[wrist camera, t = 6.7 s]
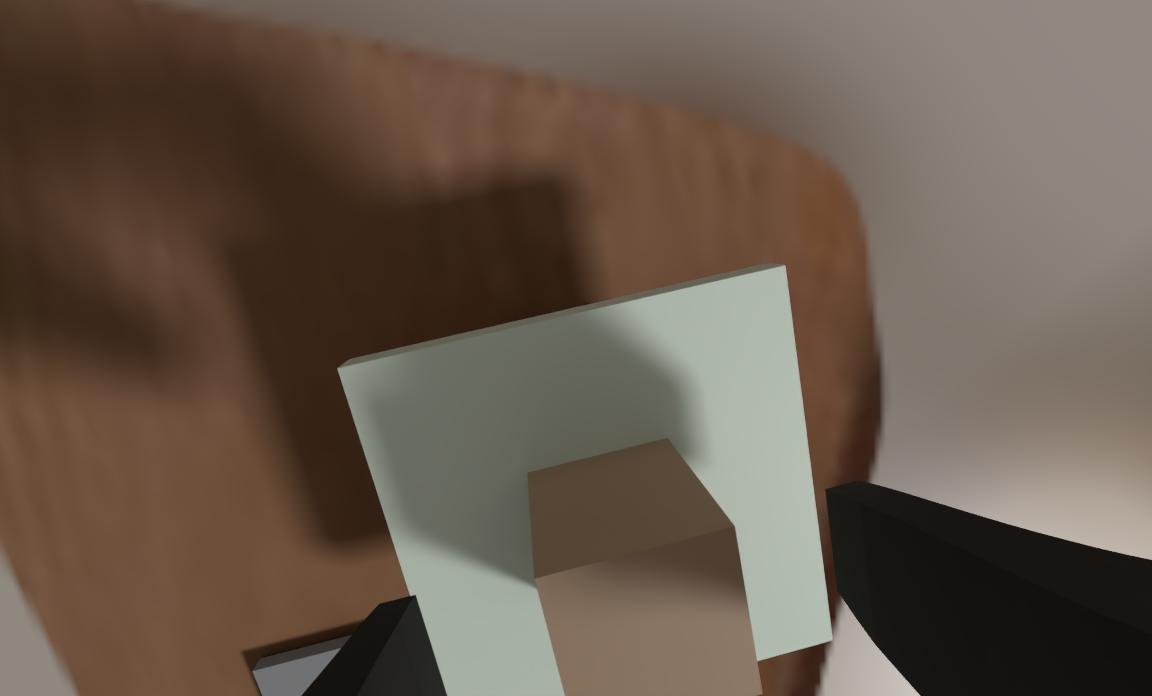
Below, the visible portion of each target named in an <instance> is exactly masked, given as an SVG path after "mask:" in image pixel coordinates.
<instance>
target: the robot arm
mask: <svg viewBox="0 0 1152 696" xmlns="http://www.w3.org/2000/svg"><path fill="white" fill-rule="evenodd" d="M825 490H826V499H827V507H828V515H829V524H830V532H831V541H832V549H833V557H834V566H835V574H836V583H837V591H838V592H839V594H840V595H841V597H842V598H843V599H844V601H845V602H846V604H847V605H848V607H849V608H850V610H851V611H852V612H853V614H854V616H855V617H856V619H857V620H858V621H859V623H860V624H861V625H862V627H863V628H864V630H865V631H866V632H867V634H868V635H869V636H870V638H871V639H872V641H873V642H874V643H875V645H876V646H877V647H878V648H879V649H880V650H881V651H882V653H883V654H884V655H885V656H886V657H887V658H888V660H889V661H890V662H891V663H892V664H893V665H894V666H895V667H896V668H897V670H898V671H899V672H900V673H901V674H902V675H903V676H904V678H905V679H906V680H907V681H908V682H909V683H910V684H911V686H912V687H913V688H914V689H915V690H916V691H917V692H918V693H919V694H920V695H921V696H1152V560H1149V559H1144V558H1139V557H1135V556H1130V555H1125V554H1121V553H1117V552H1112V551H1108V550H1103V549H1099V548H1095V547H1091V546H1087V545H1083V544H1080V543H1076V542H1071V541H1068V540H1064V539H1060V538H1057V537H1053V536H1049V535H1045V534H1041V533H1037V532H1034V531H1030V530H1027V529H1023V528H1020V527H1016V526H1012V525H1008V524H1005V523H1002V522H998V521H995V520H992V519H988V518H985V517H982V516H978V515H975V514H972V513H968V512H965V511H962V510H958V509H955V508H952V507H949V506H946V505H942V504H939V503H936V502H932V501H929V500H926V499H923V498H920V497H916V496H913V495H910V494H906V493H903V492H900V491H897V490H893V489H889V488H886V487H883V486H879V485H875V484H871V483H866V482H862V481H855V482H852V483H848V484H844V485H840V486H836V487H832V488H828V489H825ZM301 696H447V693H446V690H445V687H444V684H443V680H442V677H441V674H440V671H439V668H438V664H437V661H436V658H435V655H434V652H433V648H432V645H431V642H430V639H429V636H428V632H427V629H426V626H425V623H424V620H423V617H422V613H421V610H420V607H419V604H418V601H417V597H416V595H413V596H409V597H405V598H401V599H397V600H393V601H389V602H385V603H382V604H379V605H378V606H377V607H376V608H375V609H374V610H373V611H372V612H371V613H370V615H369V616H368V617H367V618H366V619H365V620H364V621H363V623H362V624H361V625H360V626H359V627H358V629H357V630H356V631H355V632H354V633H353V634H352V636H351V637H350V638H349V639H348V641H347V642H346V643H345V644H344V645H343V647H342V648H341V649H340V650H339V651H338V653H337V654H336V655H335V656H334V657H333V659H332V660H331V661H330V662H329V663H328V665H327V666H326V667H325V668H324V669H323V670H322V672H321V673H320V674H319V675H318V676H317V678H316V679H315V680H314V681H313V682H312V683H311V685H310V686H309V687H308V688H307V689H306V691H305V692H304V693H303V694H302V695H301Z"/></svg>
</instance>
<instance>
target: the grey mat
mask: <svg viewBox="0 0 1152 696" xmlns="http://www.w3.org/2000/svg"><path fill="white" fill-rule="evenodd" d="M351 636H352V635H349V636H345V637H341V638H337V639H334V640H330V641H326V642H322V643H318V644H314V645H310V646H307V647H303V648H299V649H295V650H291V651H287V652H283V653H280V654H276V655H272V656H268V657H264V658H260V659H259V661H258V663H257V664H256V666H255V668H254V669H253V671H252V672H253V674H254V676H255V679H256V681H257V684H258V686H259V689H260V691H261V694H262V696H301V695H302V694H303V693H304V692H305V691H306V689H307V688H308V687H309V686H310V685H311V683H312V682H313V681H314V680H315V679H316V678H317V676H318V675H319V674H320V673H321V672H322V670H323V669H324V668H325V667H326V666H327V665H328V663H329V662H330V661H331V660H332V659H333V657H334V656H335V655H336V654H337V653H338V651H339V650H340V649H341V648H342V647H343V645H344V644H345V643H346V642H347V641H348V639H349V638H350V637H351Z"/></svg>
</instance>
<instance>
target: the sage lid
mask: <svg viewBox="0 0 1152 696" xmlns="http://www.w3.org/2000/svg"><path fill="white" fill-rule="evenodd" d="M337 369H338V372H339V376H340V379H341V382H342V385H343V388H344V391H345V394H346V397H347V400H348V404H349V407H350V410H351V413H352V416H353V419H354V422H355V425H356V428H357V432H358V435H359V438H360V441H361V444H362V447H363V450H364V453H365V456H366V460H367V463H368V466H369V469H370V472H371V475H372V478H373V481H374V484H375V488H376V491H377V494H378V497H379V500H380V503H381V506H382V509H383V512H384V516H385V519H386V522H387V525H388V528H389V531H390V534H391V537H392V540H393V544H394V547H395V550H396V553H397V556H398V559H399V562H400V565H401V568H402V572H403V575H404V578H405V581H406V584H407V587H408V590H409V593H410V596H413V595H416V597H417V601H418V604H419V607H420V610H421V613H422V617H423V620H424V623H425V626H426V629H427V632H428V636H429V639H430V642H431V645H432V648H433V652H434V655H435V658H436V661H437V664H438V668H439V671H440V674H441V677H442V680H443V684H444V687H445V690H446V693H447V696H757V695H760V694H762V688H761V682H760V676H759V670H758V663H757V661H760V660H763V659H767V658H770V657H774V656H777V655H781V654H785V653H788V652H792V651H795V650H799V649H803V648H806V647H810V646H813V645H817V644H821V643H824V642H828V641H831V640H833V638H832V630H831V622H830V614H829V607H828V599H827V591H826V583H825V575H824V567H823V559H822V551H821V543H820V535H819V528H818V520H817V512H816V504H815V496H814V488H813V480H812V472H811V464H810V456H809V449H808V441H807V433H806V425H805V417H804V409H803V401H802V393H801V385H800V378H799V370H798V362H797V354H796V346H795V338H794V330H793V322H792V314H791V306H790V299H789V291H788V283H787V275H786V267H785V265H778V264H770V263H766V264H762V265H758V266H753V267H749V268H745V269H740V270H736V271H731V272H727V273H723V274H718V275H714V276H710V277H705V278H701V279H697V280H692V281H688V282H683V283H679V284H675V285H670V286H666V287H662V288H657V289H653V290H649V291H644V292H640V293H635V294H631V295H627V296H622V297H618V298H614V299H609V300H605V301H601V302H596V303H592V304H588V305H583V306H579V307H574V308H570V309H566V310H561V311H557V312H553V313H548V314H544V315H540V316H535V317H531V318H526V319H522V320H518V321H513V322H509V323H505V324H500V325H496V326H492V327H487V328H483V329H479V330H474V331H470V332H465V333H461V334H457V335H452V336H448V337H444V338H439V339H435V340H431V341H426V342H422V343H417V344H413V345H409V346H404V347H400V348H396V349H391V350H387V351H383V352H378V353H374V354H370V355H365V356H361V357H356V358H352V359H349V360H347V361H346V362H345V363H344V364H342V365H341V366H340V367H338V368H337Z"/></svg>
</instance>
